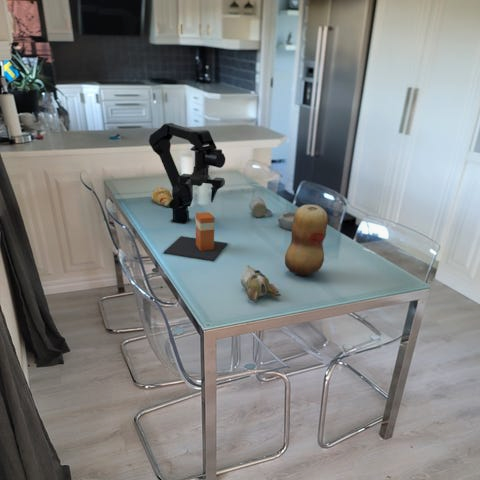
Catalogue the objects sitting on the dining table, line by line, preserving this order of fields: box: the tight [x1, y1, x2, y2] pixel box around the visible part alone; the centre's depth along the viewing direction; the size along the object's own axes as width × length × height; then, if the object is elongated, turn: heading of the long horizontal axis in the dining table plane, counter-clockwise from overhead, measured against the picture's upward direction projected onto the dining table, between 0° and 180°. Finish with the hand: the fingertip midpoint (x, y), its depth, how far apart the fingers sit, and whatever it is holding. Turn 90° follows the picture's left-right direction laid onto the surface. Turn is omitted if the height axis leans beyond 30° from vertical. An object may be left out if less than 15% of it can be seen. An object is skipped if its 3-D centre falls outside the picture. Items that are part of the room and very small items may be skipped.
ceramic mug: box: [248, 196, 273, 218], centre depth 223 cm, size 11×8×8 cm
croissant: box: [150, 187, 173, 207], centre depth 235 cm, size 21×10×8 cm, turn 27°
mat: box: [163, 235, 228, 262], centre depth 187 cm, size 20×18×1 cm
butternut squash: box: [284, 204, 329, 277], centre depth 164 cm, size 14×13×25 cm
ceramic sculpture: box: [240, 265, 282, 302], centre depth 154 cm, size 11×9×15 cm
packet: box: [195, 211, 215, 251], centre depth 184 cm, size 6×6×13 cm
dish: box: [277, 211, 296, 231], centre depth 213 cm, size 14×14×5 cm
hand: (201, 200), depth 201 cm, fingers open, 9 cm apart
